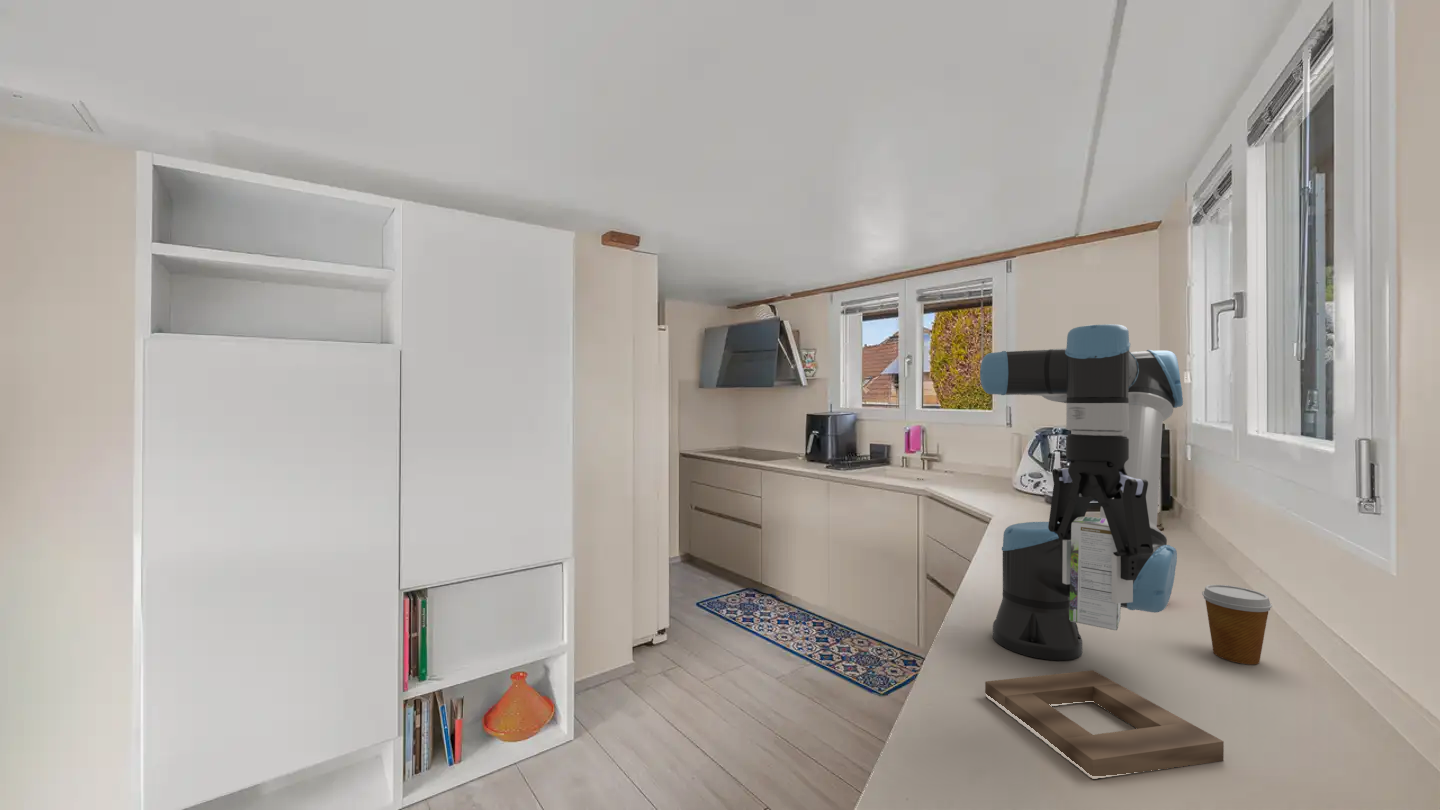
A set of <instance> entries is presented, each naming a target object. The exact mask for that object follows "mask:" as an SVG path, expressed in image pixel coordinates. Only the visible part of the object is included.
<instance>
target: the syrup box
mask: <svg viewBox="0 0 1440 810" xmlns="http://www.w3.org/2000/svg"><path fill="white" fill-rule="evenodd" d="M1113 552H1117V549H1116V546H1115V543H1114V540H1113V537H1112V534H1111V531H1110V528H1109V525H1108V522H1107V519H1105V518H1100V517H1095V516H1085V517H1077V518H1076V519H1075V520H1074V521H1073V522H1072V525H1071V562H1070V610H1069V620H1070V621H1071V622H1075V623H1076V624H1082V625H1086V626H1092V627H1095V628H1099V629H1100V628H1101V629H1106V630H1112V631H1118V628H1119V624H1120V620H1121V611H1122V610H1121V608H1122V607H1121V603H1117V604H1116V603H1114V602H1111V597H1112V554H1114V553H1113Z"/></svg>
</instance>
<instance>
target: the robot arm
mask: <svg viewBox="0 0 1440 810" xmlns="http://www.w3.org/2000/svg"><path fill="white" fill-rule="evenodd" d="M1129 333H1130V332H1129V329H1128V328H1127V327H1126V326H1125V325H1122V324H1114V323H1112V324H1111V323H1110V324H1105V323H1104V324H1089V325H1081V326H1077V327H1073V328H1072V329H1070V330H1069V331H1068V333H1067V336H1066V348H1052V349H1051V348H1050V349H1036V350H1035V349H1033V350H1030V349H1029V350H1014V351H1013V350H1012V351H1006V350H1002V351H998V352H989V353H987V354H985V355H984V356H983V358H982V360H981V363H980V374H979V376H980V377H979V379H980V383H981V387H982V389H983V390H984V392H985V393H986V394H988V395H999V396H1000V395H1001V396H1013V395H1017V396H1020V395H1021V396H1027V395H1028V396H1039V397H1040V396H1041V397H1043V398H1044V399H1046V400H1048V401H1051V402H1055V403H1063V404H1066V407H1065V408H1066V409H1065V410H1066V413H1065V415H1066V421H1065V423H1066V424H1065V426H1066V427H1065V428H1066V430H1068V431H1070V432H1071V433H1068V434H1067V435H1066V436H1065V456H1066V458H1067V459H1069V460H1070V464H1069V466H1068V468H1054V469H1052V472H1051V473H1052V474H1051V475H1052V480H1053V481H1052V482H1053V488H1052V496H1051V503H1050V504H1051V505H1050V512H1049V520H1048V521H1029V522H1028V521H1027V522H1018V523H1015V524H1011V525H1009V526H1007V527H1006V528H1005V529H1004V531H1003V536H1002V537H1003V538H1002V546H1001V551H1002V599H1001V602H1000V605H999V608H998V611H997V614H996V617H995V620H994V621H993V623H992V639H993V640H994V641H995V642H996V643H997V644H998V645H1000V646H1001V647H1003V648H1005V649H1007V650H1009V651H1012V652H1014V653H1016V654H1020V655H1023V656H1027V657H1030V658H1035V659H1042V660H1049V661H1068V660H1076V659H1077V658H1079V657H1081V656H1082V654H1083V639H1082V636H1081V634H1080V631H1079V627H1078V625H1077V624H1078V623H1075V622H1071V621H1070V620H1069V610H1070V562H1071V525H1072V522H1073V521H1074V520H1075V519H1076V518H1077V517H1086V514H1087V511H1088V509H1089V506H1090V503H1091V502H1092V501H1093V500H1094V499H1095V500H1096V501H1097V503H1098V505H1099V506H1100V512H1099V518H1105V519H1107V522H1108V525H1109V528H1110V531H1111V534H1112V537H1113V540H1114V543H1115V546H1116V549H1117V552H1113V553H1114V554H1112V597H1111V602H1114V603H1116V604H1117V603H1121V608H1124V609H1127V610H1129V611H1135V610H1136V611H1143V612H1147V613H1148V612H1149V613H1156V614H1157V613H1160V612H1162V611H1164V610H1165V609H1166V608H1167V606H1168V604H1169V601H1170V598H1171V594H1172V590H1173V587H1174V582H1175V576H1176V569H1177V567H1176V566H1177V562H1178V553H1177V549H1176V548H1175V547H1174V546H1171V545H1170V544H1167V543H1168V538H1167V536H1166V535H1165V533H1164V532H1162V530H1160V529H1159V528H1158V527H1157V526H1158V513H1159V512H1158V510H1159V493H1160V492H1159V490H1160V477H1161V476H1160V475H1161V474H1160V473H1161V459H1162V458H1161V457H1162V438H1163V422H1164V421H1166V420H1168V419H1169V418H1171V416H1172V415H1173V412H1174V409H1176V408H1180V407H1182V406H1183V404H1184V400H1183V399H1184V398H1183V391H1182V390H1183V389H1182V382H1181V374H1180V373H1181V372H1180V367H1179V362H1178V357H1177V355H1176V354H1175V353H1174V352H1173V351H1170V350H1165V349H1164V350H1152V349H1147V350H1146V351H1144V350H1143V351H1130V348H1131V342H1130V335H1129Z"/></svg>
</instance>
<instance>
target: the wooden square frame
mask: <svg viewBox="0 0 1440 810" xmlns="http://www.w3.org/2000/svg"><path fill="white" fill-rule="evenodd" d="M984 684H985V685H984V686H985V687H984V688H985V689H984V691H985V693H986V694H987V695H988V696H990V697H991V698H993V699H994V700H995V701H997V702H998V703H999V704H1001V705H1002V706H1004V707H1005V708H1006V709H1007V710H1009V711H1010V712H1011V713H1012V714H1014V715H1015V716H1017V717H1018V718H1019V719H1021V720H1022V721H1023V722H1025V723H1026V724H1027V725H1029V726H1030V727H1031V728H1033V729H1034V730H1035V731H1036V732H1038V733H1039V734H1040V735H1041V736H1043V737H1044V738H1045V739H1047V740H1048V741H1049V742H1050V743H1051V744H1053V745H1054V746H1055V747H1057V748H1058V749H1059V750H1060V751H1061V752H1063V753H1064V754H1065V755H1066V756H1067V757H1069V758H1070V759H1071V760H1072V761H1074V762H1075V763H1076V764H1078V765H1079V766H1080V767H1082V768H1083V769H1084V770H1085V771H1086V772H1087V773H1089V774H1090V775H1092V776H1106V775H1117V774H1126V773H1134V772H1143V771H1151V770H1152V771H1151V772H1154V771H1153V770H1158V769H1164V770H1168V769H1167V768H1171V769H1175V768H1174V767H1178V768H1184V767H1190V766H1197V765H1202V764H1209V763H1217V762H1224V759H1225V758H1224V751H1225V750H1224V749H1225V748H1224V747H1225V746H1224V745H1225V744H1224V743H1225V742H1224V740H1222V739H1220V738H1219V737H1216V736H1214V735H1212V734H1211V733H1209V732H1207V731H1206V730H1204V729H1202V728H1199V726H1196V725H1194V724H1193V723H1190V722H1189V721H1187V720H1185V719H1183V718H1181V717H1180V716H1177V715H1176V714H1174V713H1172V712H1171V711H1169V710H1166V709H1165V708H1163V707H1161V706H1159V705H1158V704H1155V703H1154V702H1152V701H1151V700H1148V699H1147V698H1145V697H1143V696H1141V695H1140V694H1138V693H1135V692H1134V691H1132V690H1130V689H1129V688H1127V687H1124V686H1123V685H1121V684H1120V683H1117V682H1115V681H1114V680H1112V679H1110V678H1108V677H1106V676H1104V675H1103V674H1101V673H1099V672H1097V671H1096V670H1093V669H1090V670H1084V671H1083V670H1082V671H1074V672H1072V671H1071V672H1064V673H1054V674H1052V673H1051V674H1045V675H1036V676H1035V675H1034V676H1033V675H1032V676H1025V677H1016V678H1006V679H997V680H985V682H984ZM985 693H984V694H985ZM1085 701H1094V702H1095V703H1097V704H1099V705H1100V706H1102V707H1103V708H1105V709H1106V710H1108V711H1109V712H1108V711H1107V712H1108V713H1110V712H1111V713H1112V714H1111V713H1110V714H1111V715H1113V714H1114V715H1113V716H1115V717H1116V716H1117V717H1116V718H1118V719H1119V718H1120V720H1121V719H1122V720H1121V721H1123V720H1124V721H1125V723H1126V722H1127V723H1126V724H1128V723H1129V724H1131V725H1132V726H1131V725H1130V726H1131V727H1133V726H1134V727H1135V728H1134V727H1133V729H1126V730H1120V731H1118V730H1117V731H1111V732H1104V733H1096V734H1095V733H1094V734H1093V733H1091V732H1090V731H1088V730H1087V729H1085V728H1084V727H1082V726H1081V725H1079V724H1078V723H1076V722H1075V721H1074V720H1072V719H1071V718H1069V717H1068V716H1066V715H1065V714H1063V713H1061V712H1060V711H1059V710H1057V709H1056V708H1055V707H1051V706H1050V705H1051V704H1062V703H1073V702H1085ZM1095 703H1094V704H1095ZM1049 704H1050V705H1049ZM1100 706H1099V707H1100ZM1103 708H1102V709H1103ZM1105 709H1104V710H1105ZM1106 710H1105V711H1106ZM1124 721H1123V722H1124ZM1129 724H1128V725H1129ZM1136 728H1137V729H1136ZM1188 765H1190V766H1188ZM1183 766H1184V767H1183ZM1158 771H1159V770H1158Z"/></svg>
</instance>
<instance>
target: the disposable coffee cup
mask: <svg viewBox="0 0 1440 810" xmlns="http://www.w3.org/2000/svg"><path fill="white" fill-rule="evenodd" d="M1201 595H1202V597H1203V599H1204V600H1205V606H1206V612H1207V613H1206V614H1207V619H1208V625H1209V633H1210V639H1211V646H1212V647H1211V648H1212V652H1213V654H1214V655H1215V656H1217V657H1219V658H1220V659H1224V660H1225V661H1229V662H1233V663H1238V664H1242V665H1249V666H1250V665H1251V666H1252V665H1258V664H1260V661H1261V656H1262V650H1263V645H1264V640H1265V639H1264V637H1265V633H1266V628H1267V627H1266V626H1267V622H1268V621H1267V620H1268V616H1269V611H1271V608H1273V604H1272V603H1271V602H1270V601H1271V600H1270V598H1269V596H1268V594H1265V593H1263V592H1261V591H1257V590H1253V589H1250V588H1246V587H1241V586H1235V585H1226V584H1207V585H1205V587H1204V591H1202V592H1201Z"/></svg>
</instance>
